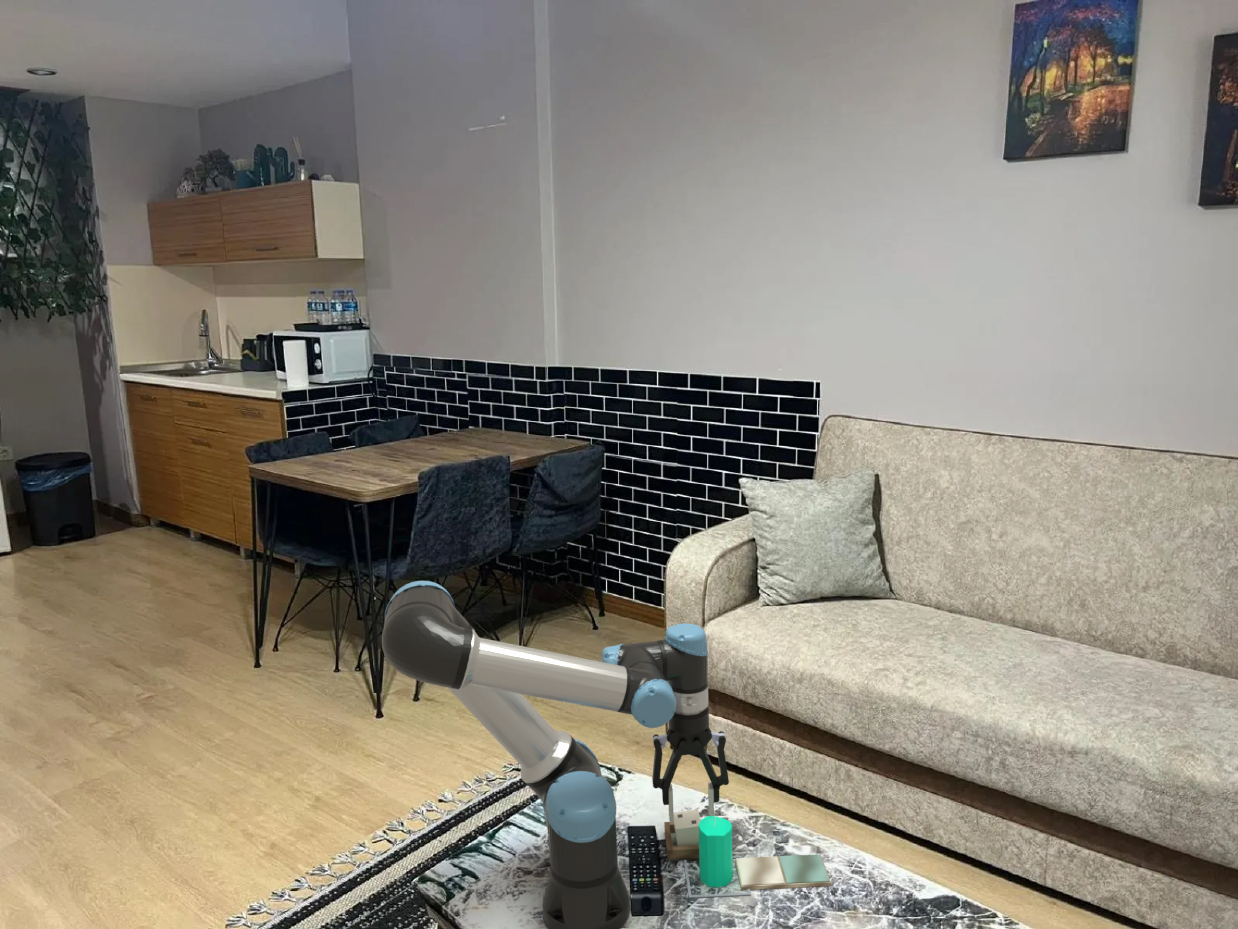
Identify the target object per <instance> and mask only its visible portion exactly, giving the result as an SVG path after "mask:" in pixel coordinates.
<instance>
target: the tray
mask: <svg viewBox="0 0 1238 929" xmlns="http://www.w3.org/2000/svg"><path fill="white" fill-rule="evenodd" d="M663 825H664V827H663V828H664V839H665V840H666V841H665V848H666V849H667V850H666V856H667V858H666V859H667V862H668V861H671V862H684V860H686V861H687V860H689V861H687V862H691V861H690V860H692V861H699V845H698V846H677V841H676V834H675V827H674V823H670V821H664V824H663ZM696 859H697V860H696Z"/></svg>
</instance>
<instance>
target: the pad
mask: <svg viewBox="0 0 1238 929" xmlns="http://www.w3.org/2000/svg"><path fill="white" fill-rule="evenodd" d="M732 856H733V859H734V860H735V859H736V858H743V855H732ZM691 861H693V860H690V861H689V860H687V861H686V860H684V861H683V865H684V872H685V880H686V888H687V895H688V899H700V898H701V899H702V898H703V899H704V898H722V897H723V898H724V897H744V896H746V897H748V896H752V892H751V890H750V889H747V890H746V892H732V893H712V894H710V893H709V894H692V891H691V890H692V889H691V883H690V878H689V877H690V876H689V869H688V868H689V867H688V863H687V862H691ZM695 861H698V860H697V859H696V860H695Z"/></svg>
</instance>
